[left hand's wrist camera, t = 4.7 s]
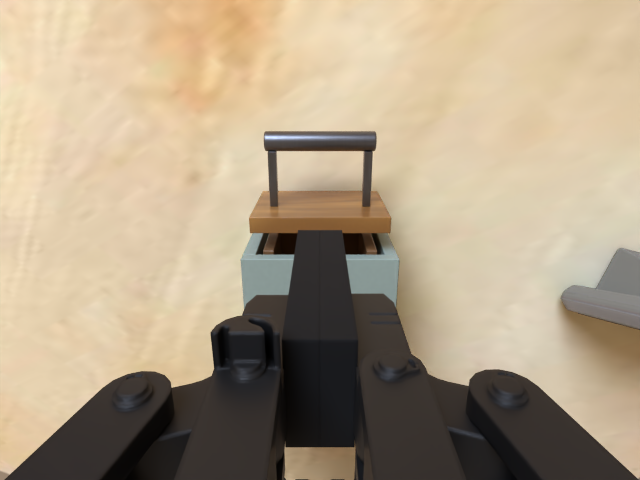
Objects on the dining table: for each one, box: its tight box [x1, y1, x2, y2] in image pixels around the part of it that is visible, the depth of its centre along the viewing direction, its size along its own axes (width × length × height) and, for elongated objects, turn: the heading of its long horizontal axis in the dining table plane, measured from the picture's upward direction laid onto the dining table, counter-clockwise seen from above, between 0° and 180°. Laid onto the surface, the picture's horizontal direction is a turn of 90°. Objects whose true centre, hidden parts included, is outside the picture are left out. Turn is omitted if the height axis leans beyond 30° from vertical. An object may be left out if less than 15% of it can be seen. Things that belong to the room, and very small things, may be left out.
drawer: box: [249, 131, 391, 255], centre depth 35 cm, size 20×10×8 cm, turn 0°
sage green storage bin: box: [241, 233, 399, 309], centre depth 37 cm, size 16×11×10 cm
